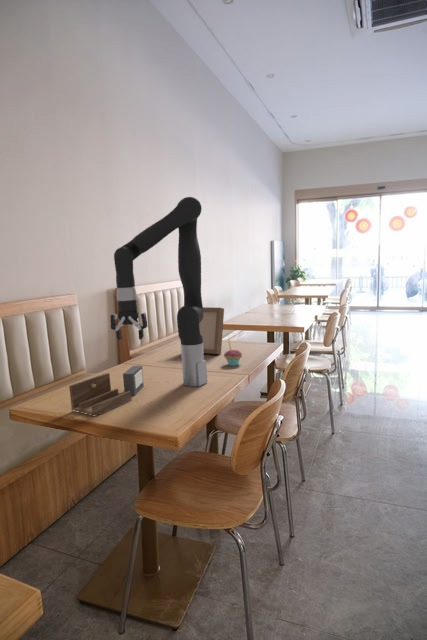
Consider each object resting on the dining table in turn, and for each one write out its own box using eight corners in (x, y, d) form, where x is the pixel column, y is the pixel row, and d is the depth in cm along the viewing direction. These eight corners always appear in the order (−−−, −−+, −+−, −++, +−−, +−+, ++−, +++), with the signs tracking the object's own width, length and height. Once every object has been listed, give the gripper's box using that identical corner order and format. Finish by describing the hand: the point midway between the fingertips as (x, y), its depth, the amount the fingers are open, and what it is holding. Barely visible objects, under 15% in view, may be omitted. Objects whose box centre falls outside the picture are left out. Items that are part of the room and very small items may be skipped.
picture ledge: (131, 400, 159) (129, 376, 158) (95, 416, 144) (92, 390, 143) (109, 396, 166) (107, 372, 164) (72, 411, 151) (69, 385, 149)
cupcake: (222, 366, 201) (220, 341, 200) (228, 361, 209) (227, 338, 207) (239, 367, 198) (238, 342, 196) (244, 362, 206) (243, 338, 204)
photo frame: (216, 355, 222) (214, 308, 219) (183, 353, 234) (180, 308, 231) (230, 350, 235) (228, 305, 232) (198, 347, 246) (195, 305, 243)
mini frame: (144, 386, 176) (142, 365, 175) (135, 396, 164) (133, 373, 163) (134, 386, 177) (132, 365, 175) (124, 396, 165) (122, 373, 164)
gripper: (147, 297, 168) (150, 337, 170) (113, 298, 170) (116, 338, 172) (141, 299, 160) (144, 341, 163) (105, 300, 162) (109, 341, 165)
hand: (130, 339), depth 167 cm, fingers open, 8 cm apart
